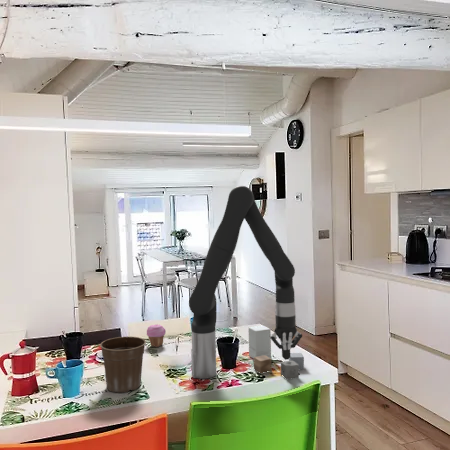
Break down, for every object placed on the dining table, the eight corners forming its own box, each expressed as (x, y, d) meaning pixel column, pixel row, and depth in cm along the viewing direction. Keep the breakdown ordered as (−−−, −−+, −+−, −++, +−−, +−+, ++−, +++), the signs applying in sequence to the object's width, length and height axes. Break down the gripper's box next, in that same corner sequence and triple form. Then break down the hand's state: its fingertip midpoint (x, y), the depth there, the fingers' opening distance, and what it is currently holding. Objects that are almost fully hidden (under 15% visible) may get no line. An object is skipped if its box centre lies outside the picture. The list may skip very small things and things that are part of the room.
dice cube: (292, 373, 170) (292, 360, 170) (298, 377, 165) (298, 364, 165) (280, 374, 168) (280, 361, 168) (286, 379, 164) (286, 366, 163)
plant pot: (150, 377, 168) (149, 335, 168) (142, 395, 152) (141, 349, 152) (108, 378, 168) (106, 336, 168) (95, 396, 152) (94, 350, 152)
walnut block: (260, 373, 170) (260, 361, 170) (254, 369, 174) (253, 357, 174) (271, 371, 172) (271, 358, 172) (264, 367, 177) (264, 355, 176)
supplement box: (271, 358, 186) (271, 329, 186) (255, 361, 184) (255, 331, 183) (263, 353, 193) (263, 324, 193) (248, 355, 191) (247, 326, 190)
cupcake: (160, 349, 201) (160, 327, 201) (143, 347, 204) (143, 326, 204) (168, 343, 210) (168, 322, 209) (152, 342, 213) (151, 321, 212)
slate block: (291, 369, 173) (291, 357, 173) (289, 365, 178) (289, 353, 178) (303, 369, 173) (303, 357, 173) (301, 365, 178) (301, 352, 178)
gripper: (271, 317, 161) (272, 363, 161) (305, 314, 163) (306, 360, 164) (265, 312, 168) (266, 357, 169) (298, 310, 170) (299, 354, 171)
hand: (286, 358), depth 166 cm, fingers closed
